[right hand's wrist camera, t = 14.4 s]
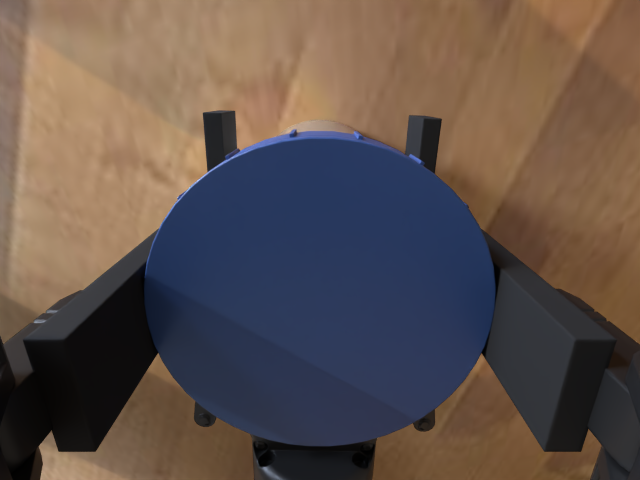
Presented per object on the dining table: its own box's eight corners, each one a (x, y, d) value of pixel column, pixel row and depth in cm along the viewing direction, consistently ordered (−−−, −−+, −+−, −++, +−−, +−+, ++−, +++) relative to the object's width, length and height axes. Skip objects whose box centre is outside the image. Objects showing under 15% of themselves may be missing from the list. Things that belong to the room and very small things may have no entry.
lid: (158, 381, 13) (135, 423, 11) (180, 92, 10) (153, 92, 8) (419, 424, 14) (433, 469, 12) (520, 166, 10) (558, 180, 9)
